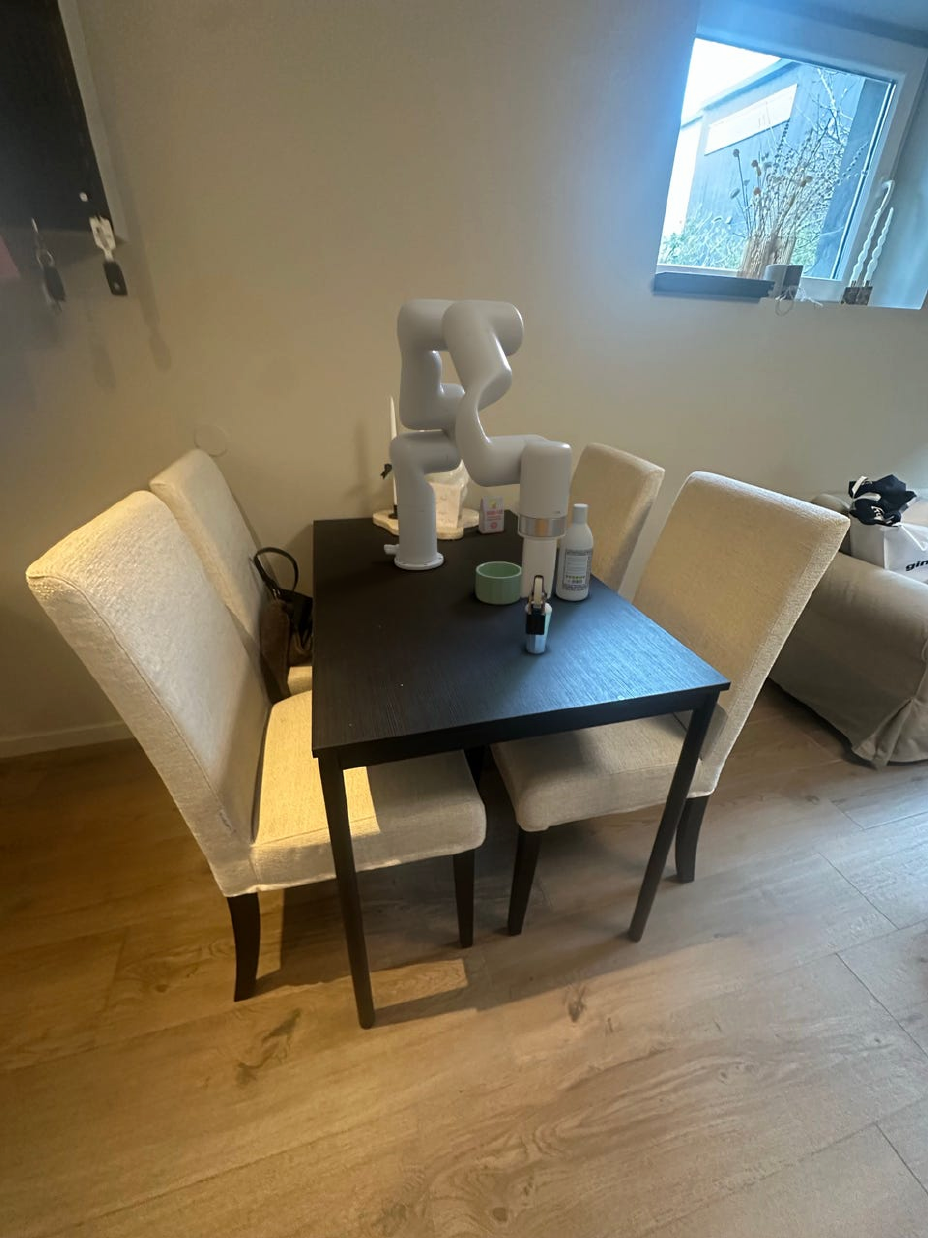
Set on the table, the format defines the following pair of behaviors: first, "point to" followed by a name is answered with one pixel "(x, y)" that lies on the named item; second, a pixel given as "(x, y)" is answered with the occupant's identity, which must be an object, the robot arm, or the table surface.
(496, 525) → the white and pink carton
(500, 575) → the cup
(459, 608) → the table surface
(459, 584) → the table surface
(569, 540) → the bath foam
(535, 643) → the milkshake
